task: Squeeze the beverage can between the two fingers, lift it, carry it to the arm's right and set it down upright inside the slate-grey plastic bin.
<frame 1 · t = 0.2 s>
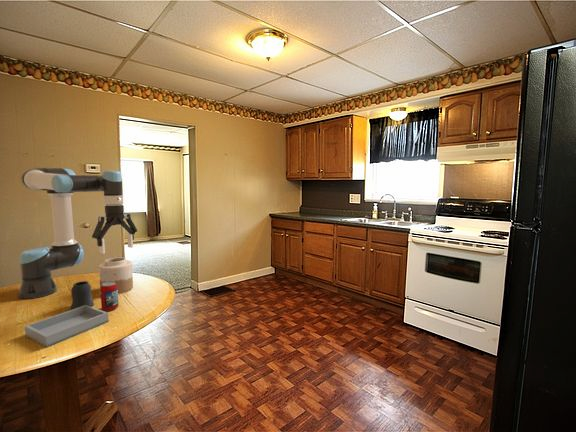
hand: (117, 250, 139), 27 cm above the table, fingers open, 13 cm apart
mug: (82, 305, 141), on the table
vase: (117, 290, 161), on the table
beverage can: (110, 309, 137), on the table
bin: (69, 328, 119), on the table
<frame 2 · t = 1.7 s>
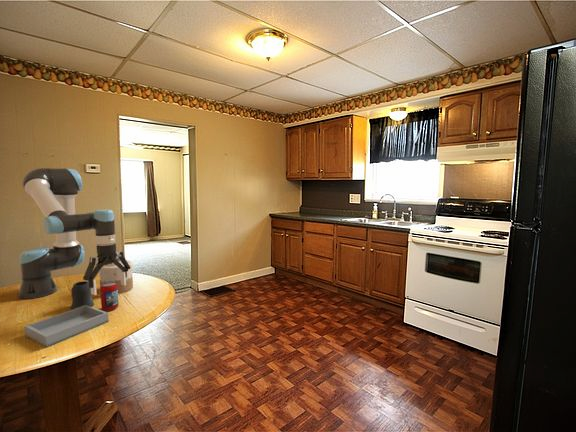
hand: (109, 289, 136), 9 cm above the table, fingers open, 13 cm apart
nothing on the table moved.
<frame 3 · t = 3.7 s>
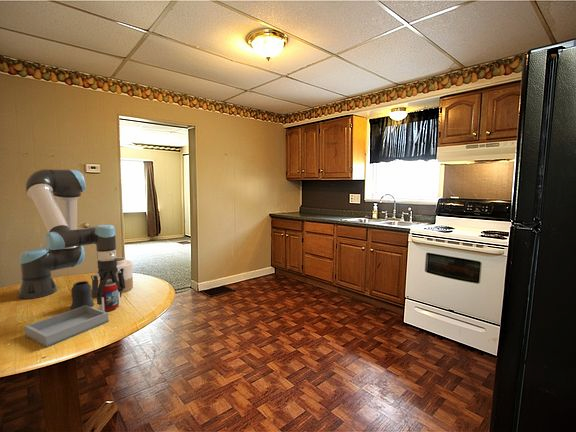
hand: (110, 307, 137), 1 cm above the table, fingers closed on beverage can, 7 cm apart
beverage can: (110, 308, 137), on the table, touching gripper
everything else where it was.
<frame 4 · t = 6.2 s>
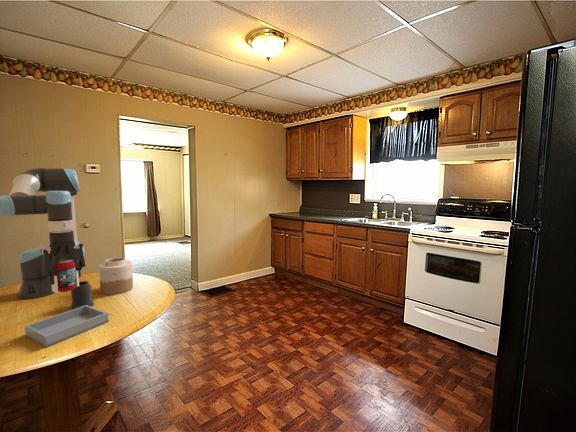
hand: (66, 288, 117), 17 cm above the table, fingers closed on beverage can, 7 cm apart
beverage can: (66, 290, 117), point 16 cm above the table, touching gripper
everything else where it was.
when the fingers open (4 cm above the table, at t = 9.2 s): beverage can drops 2 cm, resting on bin.
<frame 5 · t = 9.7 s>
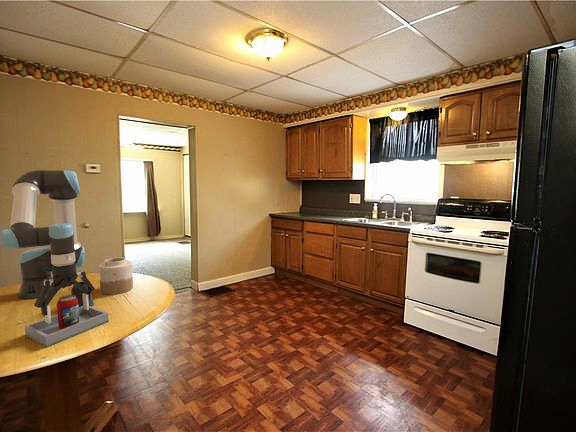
hand: (68, 315, 118), 5 cm above the table, fingers open, 13 cm apart
beverage can: (69, 326, 119), point 1 cm above the table, touching bin
everything else where it was.
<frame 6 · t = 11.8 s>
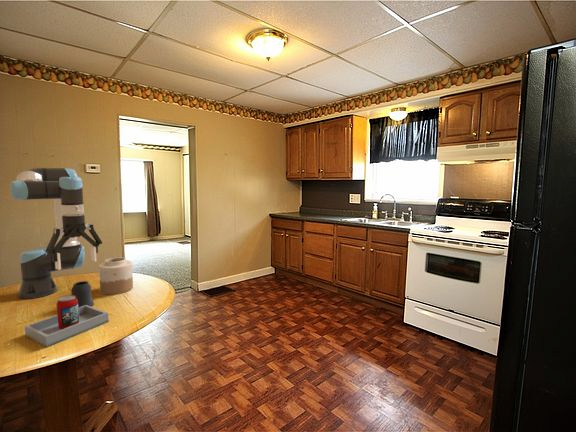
hand: (77, 264, 125), 24 cm above the table, fingers open, 13 cm apart
nothing on the table moved.
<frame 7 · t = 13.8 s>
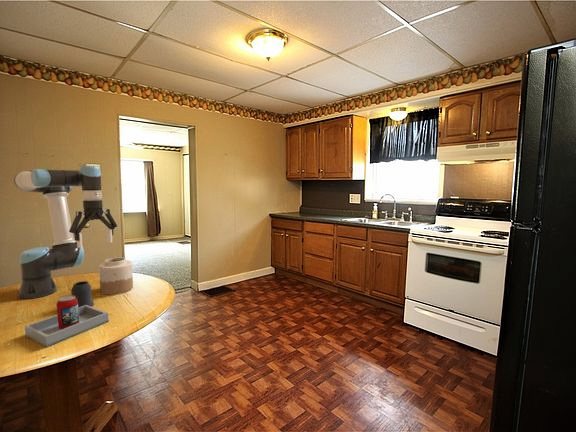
hand: (95, 244, 139), 29 cm above the table, fingers open, 13 cm apart
nothing on the table moved.
at the end: beverage can inside the target area on the bin (0.0 cm from its centre), point 0.6 cm above the bin's base; beverage can tilted 0°; the gripper is holding nothing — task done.
